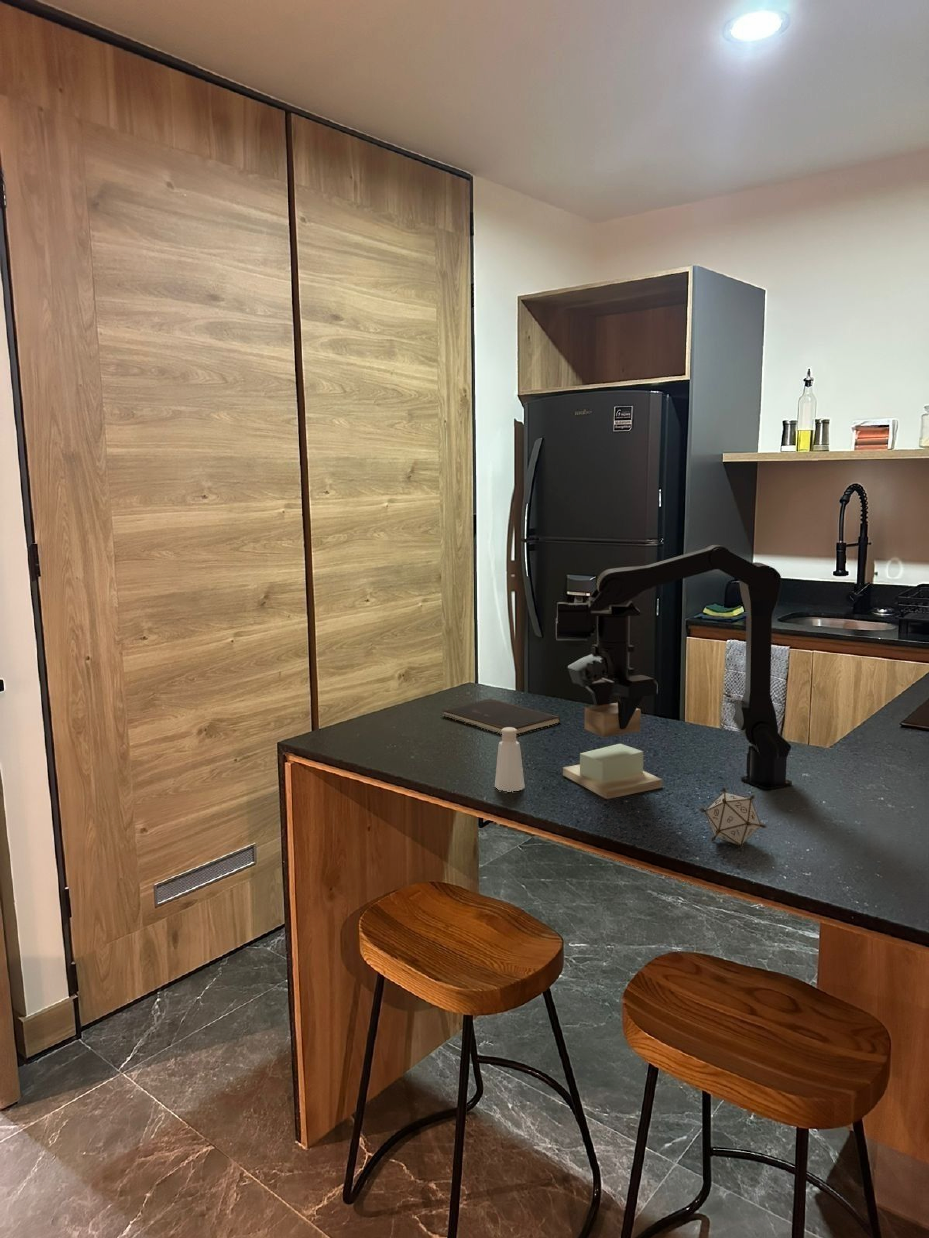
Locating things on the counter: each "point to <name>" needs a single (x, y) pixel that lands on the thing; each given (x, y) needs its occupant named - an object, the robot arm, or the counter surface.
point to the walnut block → (609, 720)
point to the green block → (611, 763)
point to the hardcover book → (501, 715)
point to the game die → (732, 818)
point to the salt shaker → (509, 762)
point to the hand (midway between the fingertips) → (612, 724)
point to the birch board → (614, 783)
